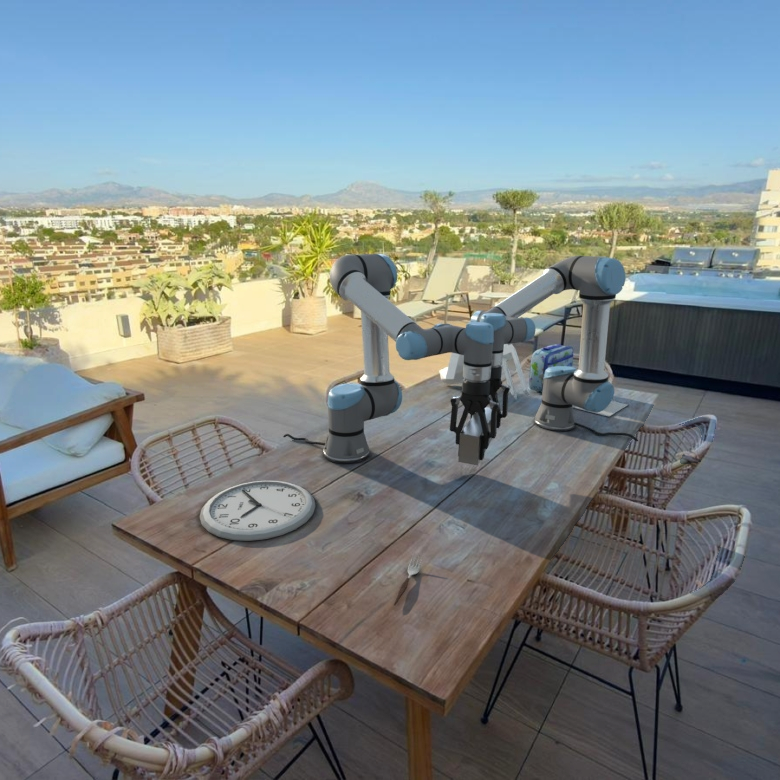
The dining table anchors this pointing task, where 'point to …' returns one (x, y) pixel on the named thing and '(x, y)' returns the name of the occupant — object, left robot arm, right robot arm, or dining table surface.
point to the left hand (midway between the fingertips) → (471, 456)
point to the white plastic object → (456, 363)
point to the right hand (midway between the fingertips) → (484, 435)
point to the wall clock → (257, 510)
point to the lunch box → (548, 363)
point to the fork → (412, 571)
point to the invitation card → (609, 408)
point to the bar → (473, 439)
